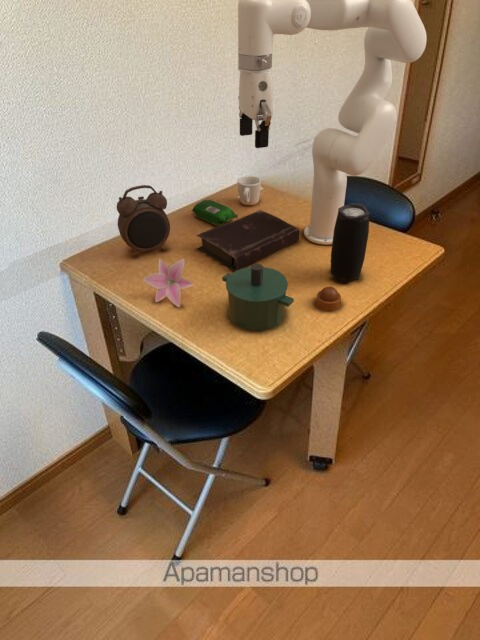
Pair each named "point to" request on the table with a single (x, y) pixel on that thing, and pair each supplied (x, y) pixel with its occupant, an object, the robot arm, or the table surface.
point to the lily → (169, 281)
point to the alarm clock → (143, 221)
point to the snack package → (213, 212)
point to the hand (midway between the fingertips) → (253, 140)
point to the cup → (249, 189)
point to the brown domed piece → (328, 299)
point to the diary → (248, 239)
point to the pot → (257, 312)
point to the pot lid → (256, 284)
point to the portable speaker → (349, 242)
